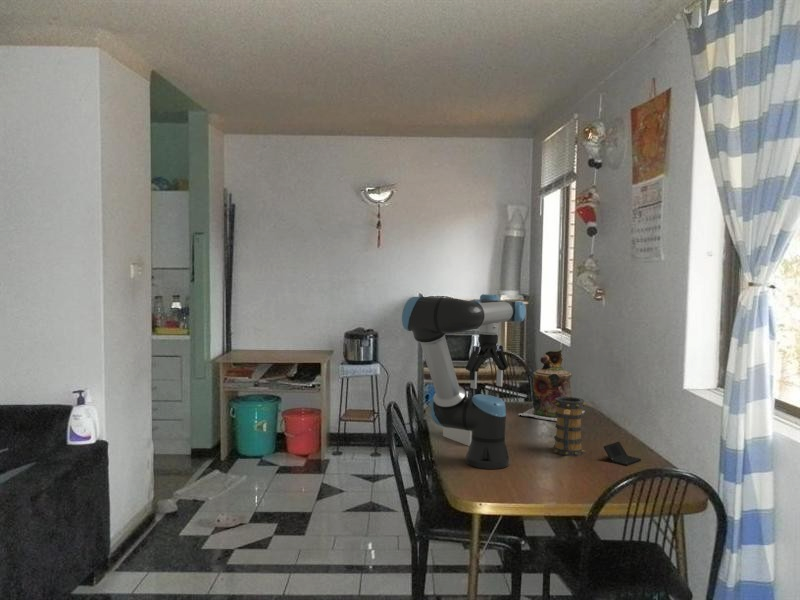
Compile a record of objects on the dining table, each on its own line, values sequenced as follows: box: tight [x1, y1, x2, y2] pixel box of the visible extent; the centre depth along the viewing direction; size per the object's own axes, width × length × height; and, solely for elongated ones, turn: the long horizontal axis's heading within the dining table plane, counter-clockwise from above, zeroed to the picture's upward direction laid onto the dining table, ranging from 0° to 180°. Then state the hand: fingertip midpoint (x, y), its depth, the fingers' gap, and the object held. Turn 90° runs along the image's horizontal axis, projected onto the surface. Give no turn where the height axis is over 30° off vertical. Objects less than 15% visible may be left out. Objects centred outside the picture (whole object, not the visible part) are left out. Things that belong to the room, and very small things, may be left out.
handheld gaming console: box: [603, 441, 642, 467], centre depth 239 cm, size 12×7×10 cm
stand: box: [442, 426, 472, 447], centre depth 265 cm, size 14×18×7 cm
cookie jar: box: [518, 349, 585, 422], centre depth 312 cm, size 25×25×32 cm
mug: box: [550, 396, 588, 457], centre depth 246 cm, size 13×17×20 cm
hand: (486, 387), depth 261 cm, fingers open, 13 cm apart
